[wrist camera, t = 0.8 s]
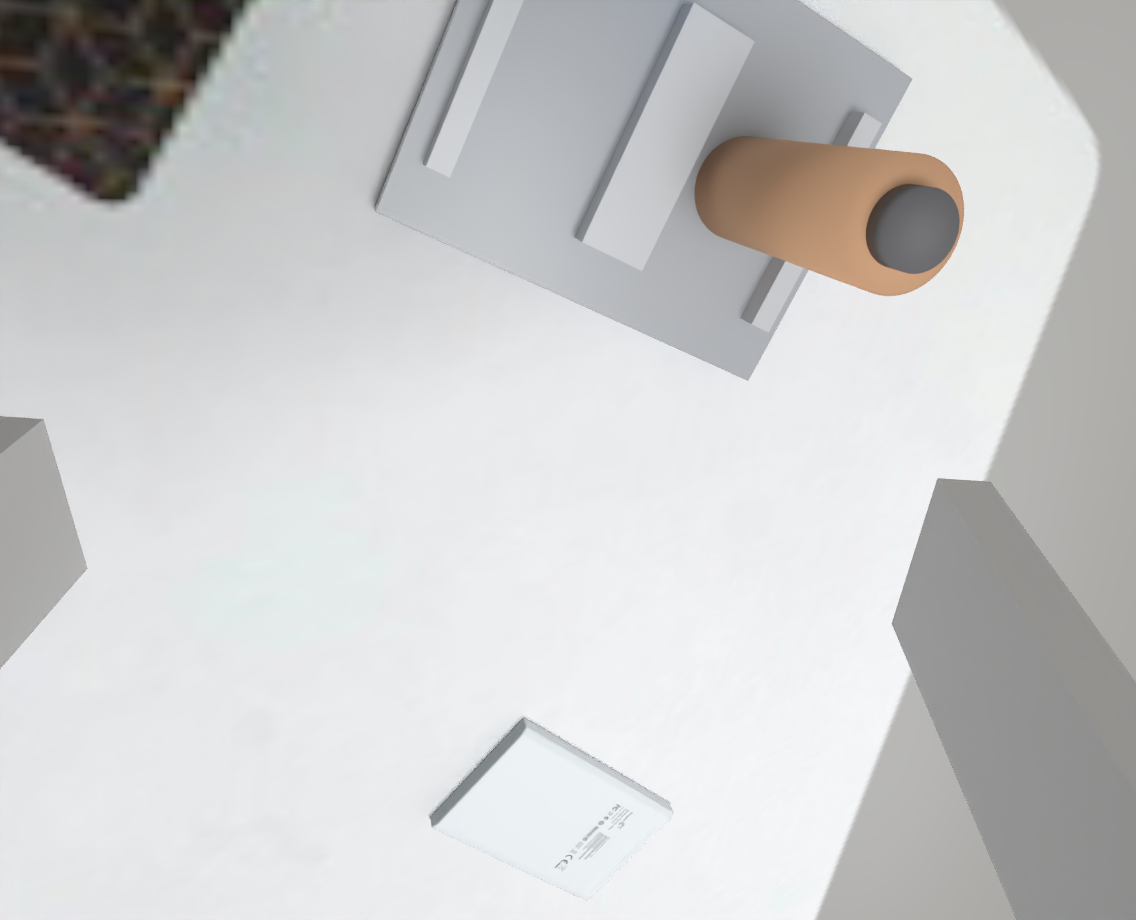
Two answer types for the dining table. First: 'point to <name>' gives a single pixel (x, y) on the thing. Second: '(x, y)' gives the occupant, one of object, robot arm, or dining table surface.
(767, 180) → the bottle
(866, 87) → the gray ribbed plate
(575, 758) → the external hard drive
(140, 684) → the dining table surface
